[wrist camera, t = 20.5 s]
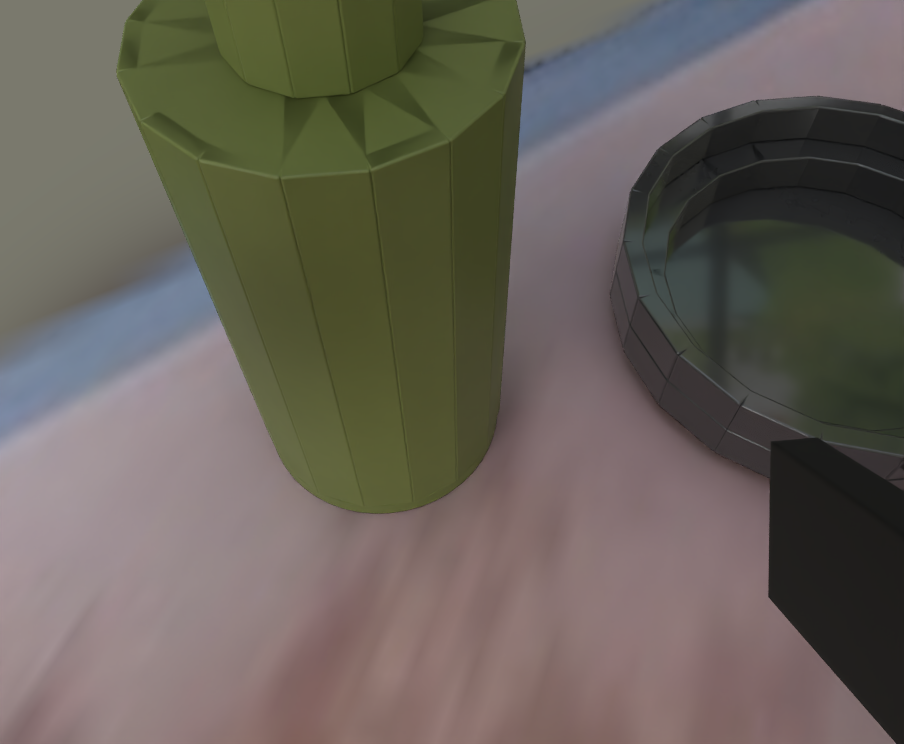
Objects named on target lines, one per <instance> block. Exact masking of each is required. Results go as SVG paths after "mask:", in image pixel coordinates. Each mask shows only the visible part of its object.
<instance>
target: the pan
mask: <svg viewBox="0 0 904 744" xmlns="http://www.w3.org/2000/svg"><path fill="white" fill-rule="evenodd" d="M610 298H611V302H612V306H613V310H614V315H615V319H616V323H617V327H618V331H619V335H620V339H621V343H622V347H623V349H624V353H625V354H626V356H627V357H628V359H629V360H630V362H631V363H632V365H633V366H634V368H635V369H636V371H637V372H638V374H639V376H640V377H641V379H642V380H643V382H644V383H645V385H646V386H647V388H648V389H649V391H650V392H651V394H652V395H653V397H654V398H655V400H656V402H657V403H659V405H660V406H661V407H662V408H663V409H664V410H665V411H667V412H668V413H669V414H670V415H671V416H672V417H674V418H675V419H676V420H677V421H678V422H679V423H681V424H682V425H683V426H684V427H685V428H687V429H688V430H689V431H690V432H691V433H692V434H694V435H695V436H696V437H697V438H698V439H699V440H701V441H702V442H703V443H704V444H705V445H707V446H708V447H709V448H710V449H711V450H712V451H715V453H717V454H719V455H721V456H724V457H726V458H728V459H730V460H732V461H734V462H736V463H738V464H740V465H742V466H745V467H747V468H749V469H751V470H753V471H755V472H757V473H759V474H761V475H763V476H766V477H768V478H770V455H771V441H781V440H792V439H804V438H815V437H818V438H819V439H821V440H822V441H824V442H826V443H827V444H829V445H830V446H832V447H834V448H835V449H837V450H838V451H840V452H842V453H843V454H845V455H847V456H848V457H850V458H851V459H853V460H855V461H856V462H858V463H859V464H861V465H863V466H864V467H866V468H868V469H869V470H871V471H872V472H874V473H876V474H877V475H879V476H880V477H882V478H884V479H885V480H887V481H888V482H890V483H892V484H893V485H895V486H897V487H898V488H900V489H901V490H903V491H904V112H903V111H900V110H897V109H894V108H891V107H888V106H885V105H881V104H876V103H868V102H861V101H853V100H846V99H838V98H831V97H823V96H817V97H816V96H807V97H794V98H780V99H767V100H756V101H751V102H748V103H745V104H742V105H738V106H735V107H732V108H729V109H726V110H723V111H720V112H717V113H714V114H711V115H708V116H705V117H702V118H701V119H699V120H697V121H696V122H695V123H693V124H692V125H690V126H689V127H688V128H686V129H685V130H683V131H682V132H681V133H679V134H678V135H676V136H675V137H674V138H672V139H671V140H669V141H668V142H667V143H665V144H664V145H662V146H661V147H660V148H659V149H658V150H656V152H655V154H654V155H653V157H652V158H651V160H650V161H649V163H648V164H647V166H646V167H645V169H644V170H643V172H642V174H641V175H640V177H639V178H638V180H637V181H636V183H635V184H634V186H633V187H632V189H631V191H630V194H629V198H628V203H627V207H626V211H625V215H624V220H623V224H622V228H621V232H620V237H619V241H618V245H617V250H616V257H615V263H614V269H613V276H612V282H611V289H610Z"/></svg>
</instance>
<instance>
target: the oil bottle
mask: <svg viewBox="0 0 904 744" xmlns="http://www.w3.org/2000/svg"><path fill="white" fill-rule="evenodd" d="M525 45H526V41H525V37H524V33H523V29H522V24H521V19H520V15H519V10H518V6H517V1H516V0H142V1H141V3H140V4H139V5H138V6H137V8H136V9H135V10H134V11H133V13H132V14H131V15H130V16H129V17H128V19H127V20H126V22H125V26H124V31H123V38H122V42H121V48H120V54H119V59H118V65H117V70H116V73H117V78H118V80H119V82H120V85H121V87H122V89H123V92H124V94H125V96H126V99H127V101H128V103H129V106H130V108H131V111H132V113H133V115H134V117H135V120H136V122H137V125H138V127H139V129H140V132H141V134H142V136H143V139H144V141H145V143H146V146H147V148H148V150H149V153H150V155H151V157H152V160H153V162H154V165H155V167H156V169H157V171H158V174H159V176H160V179H161V181H162V183H163V186H164V188H165V190H166V193H167V195H168V197H169V200H170V202H171V205H172V207H173V209H174V212H175V214H176V216H177V219H178V221H179V223H180V226H181V228H182V230H183V233H184V235H185V237H186V240H187V242H188V244H189V247H190V249H191V252H192V254H193V256H194V259H195V261H196V263H197V266H198V268H199V270H200V273H201V275H202V277H203V280H204V282H205V284H206V287H207V289H208V291H209V294H210V296H211V299H212V301H213V303H214V306H215V308H216V310H217V313H218V315H219V317H220V320H221V322H222V324H223V327H224V329H225V331H226V334H227V336H228V338H229V341H230V343H231V346H232V348H233V350H234V353H235V355H236V357H237V360H238V362H239V364H240V367H241V369H242V371H243V374H244V376H245V378H246V381H247V383H248V385H249V388H250V390H251V393H252V395H253V397H254V400H255V402H256V404H257V407H258V409H259V411H260V414H261V416H262V418H263V421H264V423H265V425H266V428H267V430H268V432H269V434H270V437H271V439H272V441H273V443H274V445H275V447H276V450H277V452H278V454H279V457H280V458H281V460H282V462H283V464H284V465H285V467H286V469H287V470H288V471H289V472H290V474H291V475H292V476H293V478H294V479H295V480H296V481H297V482H298V483H299V484H301V485H302V486H303V487H304V488H305V489H306V490H308V491H309V492H310V493H312V494H313V495H315V496H316V497H318V498H320V499H322V500H324V501H326V502H328V503H329V504H332V505H335V506H338V507H341V508H343V509H347V510H352V511H357V512H364V513H394V512H400V511H407V510H410V509H414V508H417V507H421V506H423V505H426V504H428V503H431V502H433V501H435V500H437V499H439V498H441V497H442V496H444V495H446V494H448V493H449V492H451V491H452V490H453V489H455V488H456V487H457V486H459V485H460V484H461V483H462V482H463V481H464V480H465V479H467V478H468V477H469V476H470V475H471V474H472V473H473V471H474V470H475V469H476V467H477V466H478V465H479V463H480V462H481V461H482V459H483V457H484V455H485V454H486V452H487V450H488V448H489V446H490V443H491V441H492V438H493V435H494V431H495V426H496V420H497V415H498V412H499V408H500V394H501V381H502V367H503V353H504V339H505V325H506V311H507V297H508V283H509V269H510V255H511V241H512V227H513V213H514V199H515V186H516V172H517V158H518V144H519V130H520V116H521V102H522V88H523V74H524V60H525Z"/></svg>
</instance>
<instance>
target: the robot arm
mask: <svg viewBox="0 0 904 744" xmlns="http://www.w3.org/2000/svg"><path fill="white" fill-rule="evenodd" d="M768 597H769V598H770V599H771V601H772V602H773V603H774V604H775V605H776V606H777V607H778V609H779V610H780V611H781V612H782V613H783V614H784V615H785V617H786V618H787V619H788V620H789V621H790V622H791V623H792V625H793V626H794V627H795V628H796V629H797V630H798V631H799V633H800V634H801V635H802V636H803V637H804V638H805V640H806V641H807V642H808V643H809V644H810V645H811V646H812V648H813V649H814V650H815V651H816V652H817V653H818V654H819V656H820V657H821V658H822V659H823V660H824V661H825V662H826V664H827V665H828V666H829V667H830V668H831V669H832V670H833V672H834V673H835V674H836V675H837V676H838V677H839V678H840V680H841V681H842V682H843V683H844V684H845V685H846V686H847V688H848V689H849V690H850V691H851V692H852V693H853V694H854V696H855V697H856V698H857V699H858V700H859V701H860V702H861V704H862V705H863V706H864V707H865V708H866V709H867V710H868V712H869V713H870V714H871V715H872V716H873V717H874V718H875V720H876V721H877V722H878V723H879V724H880V725H881V726H882V728H883V729H884V730H885V731H886V732H887V733H888V734H889V736H890V737H891V738H892V739H893V740H894V741H895V742H896V744H904V491H903V490H901V489H900V488H898V487H897V486H895V485H893V484H892V483H890V482H888V481H887V480H885V479H884V478H882V477H880V476H879V475H877V474H876V473H874V472H872V471H871V470H869V469H868V468H866V467H864V466H863V465H861V464H859V463H858V462H856V461H855V460H853V459H851V458H850V457H848V456H847V455H845V454H843V453H842V452H840V451H838V450H837V449H835V448H834V447H832V446H830V445H829V444H827V443H826V442H824V441H822V440H821V439H819V438H818V437H815V438H804V439H792V440H781V441H771V455H770V524H769V593H768Z"/></svg>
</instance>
